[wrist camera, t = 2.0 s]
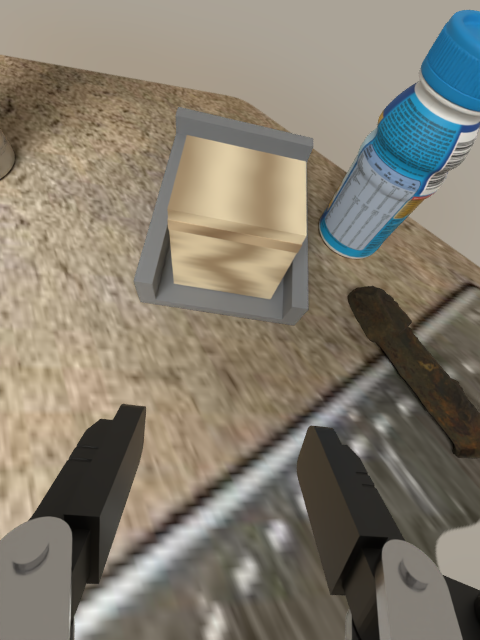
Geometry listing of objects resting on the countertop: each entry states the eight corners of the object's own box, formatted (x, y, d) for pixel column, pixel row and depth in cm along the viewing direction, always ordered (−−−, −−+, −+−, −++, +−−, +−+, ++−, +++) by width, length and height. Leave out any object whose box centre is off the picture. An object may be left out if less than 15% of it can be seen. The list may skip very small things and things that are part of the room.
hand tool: (475, 438, 29) (524, 437, 25) (451, 460, 28) (499, 463, 23) (362, 290, 34) (386, 268, 30) (337, 302, 33) (359, 281, 29)
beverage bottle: (314, 253, 35) (451, 46, 17) (317, 203, 38) (432, -12, 20) (379, 268, 35) (577, 86, 17) (375, 218, 39) (537, 23, 21)
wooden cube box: (173, 284, 29) (166, 209, 19) (186, 222, 32) (186, 134, 23) (270, 299, 30) (307, 236, 21) (274, 238, 33) (306, 161, 24)
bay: (140, 301, 28) (129, 268, 23) (179, 155, 38) (178, 106, 32) (293, 325, 30) (317, 299, 25) (295, 180, 39) (313, 138, 34)
